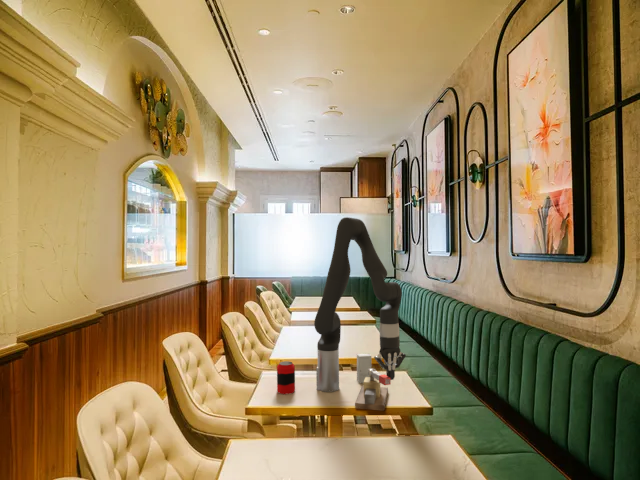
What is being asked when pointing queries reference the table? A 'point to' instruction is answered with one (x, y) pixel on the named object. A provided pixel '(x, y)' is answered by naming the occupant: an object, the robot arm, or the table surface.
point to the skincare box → (363, 366)
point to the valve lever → (379, 376)
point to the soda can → (285, 377)
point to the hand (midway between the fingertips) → (390, 379)
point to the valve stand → (371, 395)
